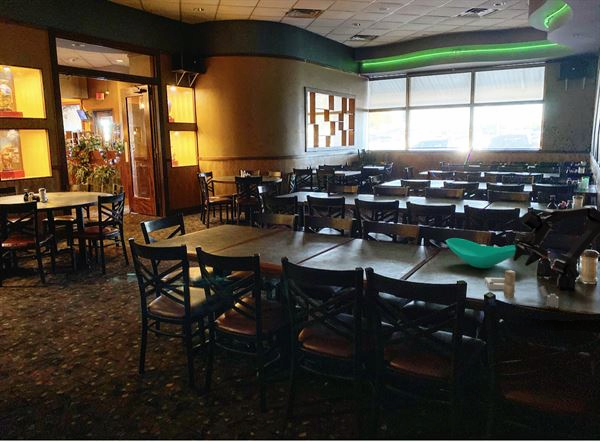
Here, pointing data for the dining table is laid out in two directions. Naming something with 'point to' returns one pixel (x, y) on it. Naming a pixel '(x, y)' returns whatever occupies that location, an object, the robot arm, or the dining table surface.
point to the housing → (495, 283)
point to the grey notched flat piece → (550, 298)
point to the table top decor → (480, 252)
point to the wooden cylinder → (509, 283)
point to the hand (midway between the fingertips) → (519, 263)
